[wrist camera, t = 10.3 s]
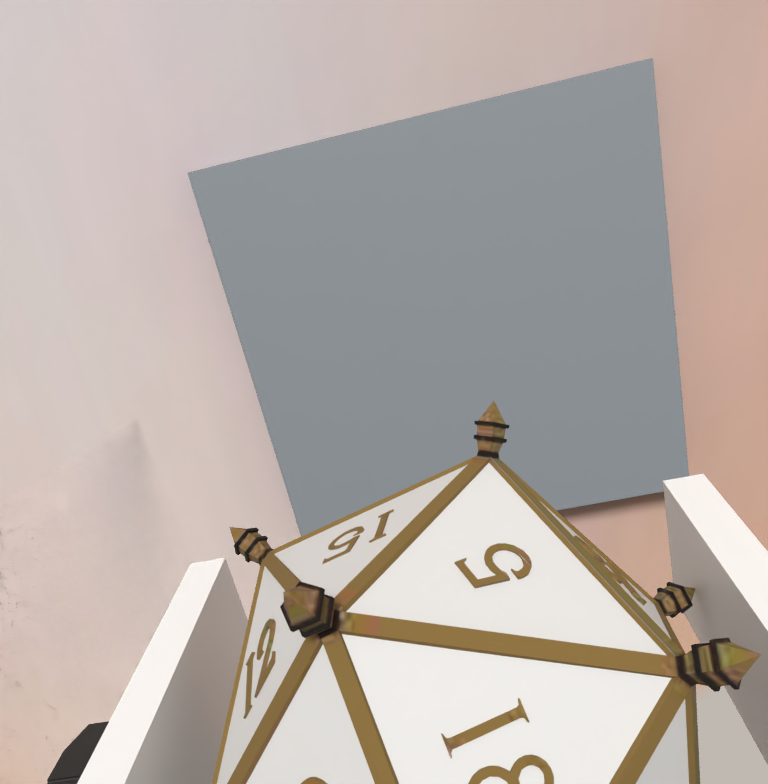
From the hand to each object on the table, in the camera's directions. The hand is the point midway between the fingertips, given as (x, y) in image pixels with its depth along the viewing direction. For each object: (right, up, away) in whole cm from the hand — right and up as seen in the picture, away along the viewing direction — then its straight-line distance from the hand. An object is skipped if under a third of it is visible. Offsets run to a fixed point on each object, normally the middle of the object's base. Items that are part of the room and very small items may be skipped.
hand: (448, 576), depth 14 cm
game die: (0, +1, +2) cm, 2 cm away
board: (+2, +6, +16) cm, 18 cm away
